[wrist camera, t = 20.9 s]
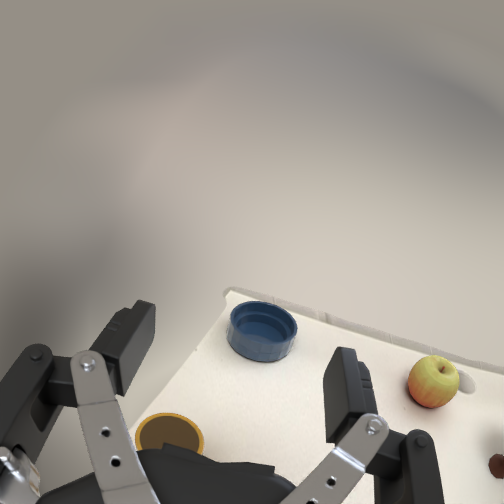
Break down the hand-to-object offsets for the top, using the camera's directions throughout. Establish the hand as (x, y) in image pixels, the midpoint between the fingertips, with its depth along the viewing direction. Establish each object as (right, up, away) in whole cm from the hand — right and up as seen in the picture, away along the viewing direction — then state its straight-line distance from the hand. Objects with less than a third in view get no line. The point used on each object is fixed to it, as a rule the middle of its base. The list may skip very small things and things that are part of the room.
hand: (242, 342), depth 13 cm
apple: (+31, -22, +34) cm, 51 cm away
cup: (-9, -22, +15) cm, 28 cm away
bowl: (+2, -12, +41) cm, 43 cm away
